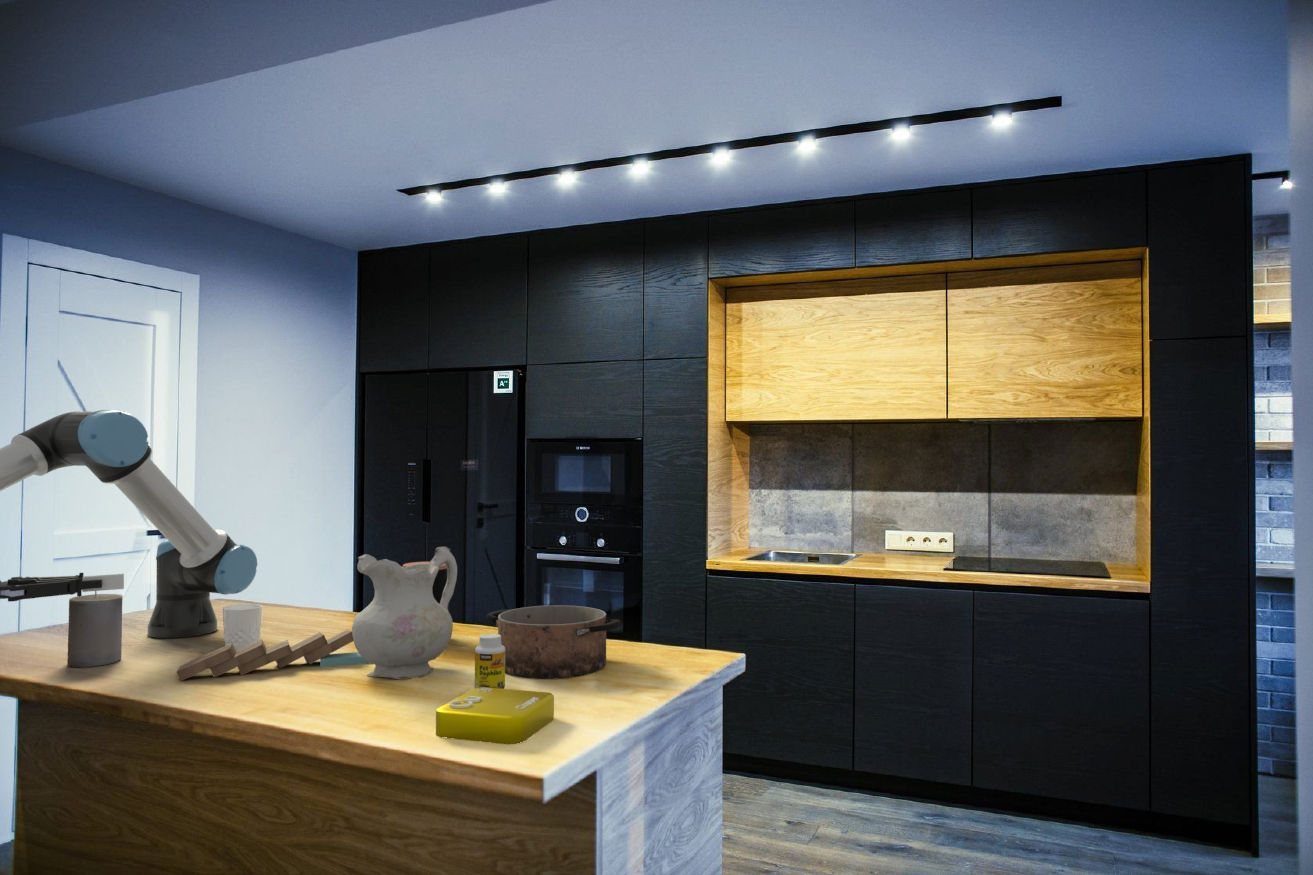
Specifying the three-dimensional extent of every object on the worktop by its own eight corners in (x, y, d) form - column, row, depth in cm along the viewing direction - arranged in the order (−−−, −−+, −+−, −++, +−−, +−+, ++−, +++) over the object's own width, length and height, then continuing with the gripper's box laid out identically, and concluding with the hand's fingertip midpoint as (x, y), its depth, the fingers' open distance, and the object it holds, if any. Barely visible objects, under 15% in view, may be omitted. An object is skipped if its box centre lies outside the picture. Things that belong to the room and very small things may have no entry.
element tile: (518, 747, 130) (518, 715, 130) (430, 738, 134) (430, 707, 134) (558, 718, 144) (558, 689, 145) (477, 711, 149) (477, 683, 149)
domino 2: (211, 662, 174) (261, 639, 178) (215, 671, 174) (265, 647, 178) (209, 668, 169) (261, 644, 173) (214, 677, 170) (266, 653, 173)
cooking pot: (640, 662, 184) (640, 611, 184) (588, 687, 163) (588, 630, 164) (522, 648, 196) (522, 601, 197) (460, 670, 176) (460, 617, 176)
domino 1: (180, 665, 172) (232, 642, 175) (184, 674, 172) (236, 651, 175) (176, 671, 167) (229, 648, 170) (180, 681, 167) (233, 657, 170)
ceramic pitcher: (416, 660, 189) (410, 546, 191) (483, 664, 179) (476, 543, 181) (333, 683, 170) (327, 556, 172) (403, 688, 161) (396, 554, 162)
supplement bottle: (474, 696, 157) (475, 639, 157) (474, 688, 162) (474, 633, 162) (506, 694, 158) (506, 637, 158) (504, 686, 163) (504, 632, 164)
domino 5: (301, 652, 183) (346, 629, 188) (305, 661, 183) (350, 637, 188) (306, 655, 178) (352, 631, 184) (310, 664, 179) (356, 639, 184)
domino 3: (237, 660, 176) (287, 639, 180) (240, 669, 176) (290, 648, 181) (237, 666, 172) (289, 644, 176) (241, 675, 172) (292, 653, 176)
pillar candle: (57, 664, 181) (58, 592, 181) (105, 654, 190) (106, 586, 190) (84, 669, 176) (85, 595, 177) (132, 659, 185) (133, 589, 185)
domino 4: (273, 655, 180) (319, 631, 185) (277, 664, 181) (323, 640, 186) (276, 659, 176) (323, 634, 181) (280, 668, 176) (327, 643, 181)
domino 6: (320, 654, 184) (369, 650, 187) (320, 664, 184) (369, 660, 187) (320, 659, 179) (371, 655, 183) (320, 669, 179) (371, 665, 183)
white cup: (268, 648, 196) (269, 603, 196) (248, 656, 188) (249, 610, 188) (235, 647, 197) (236, 603, 197) (214, 655, 189) (215, 609, 189)
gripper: (-21, 606, 161) (127, 595, 171) (-41, 619, 149) (119, 606, 160) (-21, 566, 161) (127, 557, 171) (-41, 576, 149) (119, 566, 160)
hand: (123, 581), depth 166 cm, fingers closed
